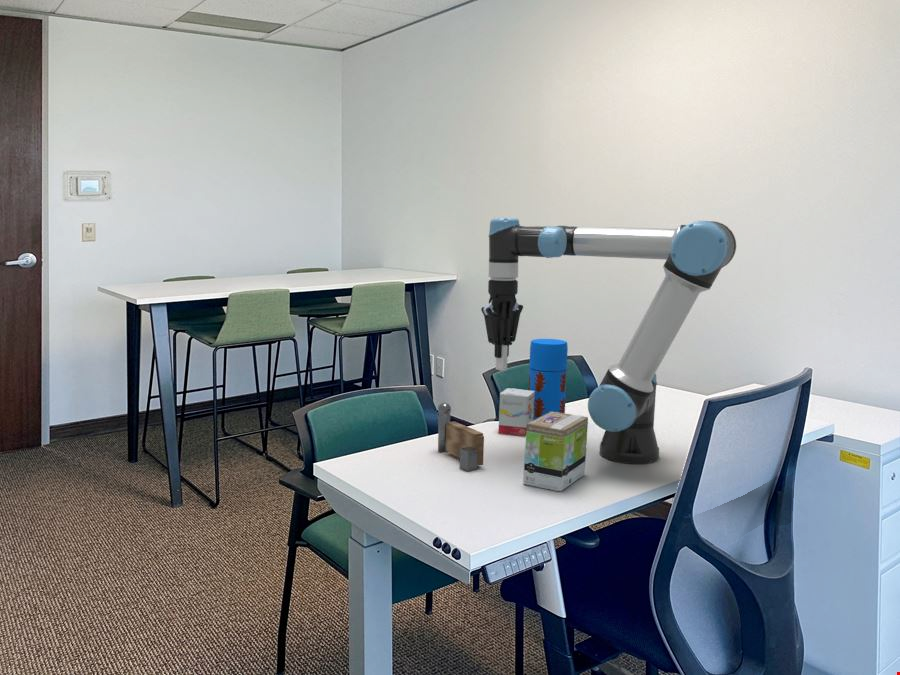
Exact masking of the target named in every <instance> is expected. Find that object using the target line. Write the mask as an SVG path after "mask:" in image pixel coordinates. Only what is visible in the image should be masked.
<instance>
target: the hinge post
mask: <svg viewBox="0 0 900 675" xmlns="http://www.w3.org/2000/svg"><path fill="white" fill-rule="evenodd" d="M437 411H438V423H437V425H438V426H437V427H438V429H437V430H438V434H437V440H438V441H437V452H438V451H439V452H438V453H441V452H446V424H447V422H451V412H452V407H451V405H450V403H447V402H442V403H440V404H439V405H438V406H437Z"/></svg>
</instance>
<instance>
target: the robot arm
mask: <svg viewBox="0 0 900 675" xmlns="http://www.w3.org/2000/svg"><path fill="white" fill-rule="evenodd" d="M488 232H489V233H488V248H489V249H488V252H489V253H488V277H489V278H490V279H489V280H488V282H487V283H488V285H487V288H488V290H487V292H488V294H489V299H488V304H487V305H486V306H482V307H481V308H480V309H481V313H482V315H483V317H484V323H485V324H484V325H485V328H486V329H485V330H486V334H487V340H488V343H490V344H492V345H494V358H495V370H496V371H500V372H501V371H502V372H504V371H505V372H506V371H508V357H509V355H510V353H509V352H510V351H509V350H510V346H512V345H513V342H515V341H516V338H517V332H518V328H519V322H520V318H521V313H522V311H523V309H524V305H523V304H519V303H518V302H517V298H516V295H518V291H519V281H518V280H517V278H518V277H519V257H530V258H531V257H536V258H546V259H552V258H560V257H562V256H574V257H575V256H578V257H599V258H604V257H605V258H623V259H641V260H642V259H643V260H644V259H646V260H663V261H664V260H666V261H665V262H664V264H663V266H662V268H663V271H664V273H665V276H664V279H663V280H662V282H661V283H660V286H659V288H658V290H657V291H656V293H655V295H654V297H653V299H652V300H651V302H650V303H649V306H648V308H647V310H646V311H645V314H644V315H643V318H642V320H641V321H640V323H639V324H638V327H637V329H636V331H635V332H634V334H633V336H632V338H631V340H630V342H629V343H628V346H627V348H626V349H625V351H624V353H623V354H622V356H621V358H620V360H619V362H618V363H616V364H615V363H614V364H613V365H610V366H609V367H608V369H607V371H606V373H605V375H604V377H603V378H602V379H601V382H600V383H599V386H597V387H596V388H594V390H593V391H592V392H591V394H590V395H589V397H588V401H587V410H588V413H589V416H590V418H591V420H592V421H593V423H594V424H595V425H596V426H598V427H599V428H600V429H602V430H604V433H603V436H602V439H601V442H600V444H599V455H600V456H601V457H602V458H604V459H607V460H610V461H614V462H617V463H618V462H619V463H624V464H632V465H633V464H636V465H637V464H638V465H639V464H641V465H642V464H648V463H654V462H656V461H658V460H659V458H660V457H659V456H660V448H659V446H658V441H657V437H656V433H655V429H654V427H655V426H654V425H655V423H654V422H655V411H656V397H657V396H656V395H657V385H658V382H657V374H656V373H657V370H658V369H659V367H660V365H661V363H662V362H663V360H664V358H665V356H666V355H667V353H668V351H669V349H670V347H671V346H672V344H673V342H674V341H675V338H676V337H677V334H679V331H680V329H681V328H682V326H683V324H684V322H685V320H686V318H687V317H688V315H689V313H690V311H691V310H692V308H693V306H694V305H695V302H696V301H697V299H698V297H699V295H700V294H701V293H703V292H706V291H710V290H711V288H712V286H713V284H714V283H715V281H716V279H717V277H718V275H719V274H720V272H721V271H722V269H723V268H724V267H727V265H728V264H730V263H731V261H732V260H733V258H734V256H735V255H736V254H735V253H736V251H737V240H736V236H735V235H734V232H733V231H732V230H731V229H730V228H729V227H728V226H727V225H725V224H724V223H722V222H718V221H715V220H714V221H712V220H710V221H709V220H696V221H693V222H689V223H688V224H680V225H678V227H676V228H662V227H661V228H659V227H658V228H655V227H654V228H653V227H652V228H651V227H649V228H648V227H614V226H613V227H610V226H609V227H608V226H607V227H605V226H575V225H574V226H571V225H570V226H569V225H557V226H555V225H554V226H550V225H549V226H546V225H545V226H524V225H520V220H519V219H518V218H514V217H513V218H512V217H509V218H508V217H494V218H492V219H491V220H490V222H489V231H488Z"/></svg>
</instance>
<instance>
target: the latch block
mask: <svg viewBox="0 0 900 675" xmlns="http://www.w3.org/2000/svg"><path fill="white" fill-rule="evenodd" d="M477 451H478V450H477V449H475V448H472V447H465V448H461V449H460V458H459V469H460V470H462V471H465V472H467V473H468V472H471V471H475V470H478V466H477Z"/></svg>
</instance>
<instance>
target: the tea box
mask: <svg viewBox="0 0 900 675" xmlns="http://www.w3.org/2000/svg"><path fill="white" fill-rule="evenodd" d="M588 425H589V417H588V416H584V415H579V414H578V415H577V414H569V413H566V412H565V413H559V412H552V411H551V412H549V413H547V414H545V415H543V416H541V417H539V418H537V419H535V420H533V421H531V422H529V423H527V429H526V436H525V444H524V445H525V446H524V464H523V467H524V469H523V479H522V481H523V482H522V484H524V485H527V486H531V487H535V488H540V489H546V490H549V489H550V490H551V491H555V492H562V491H563V490H564V489H566V488H568V487H569V486H571V485H572V484H573V483H574V482H576V481H577V480H578V479H580V478H581V477H583V476H584V475H585V470H586V460H587V459H586V456H587V441H588ZM550 490H549V491H550Z"/></svg>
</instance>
